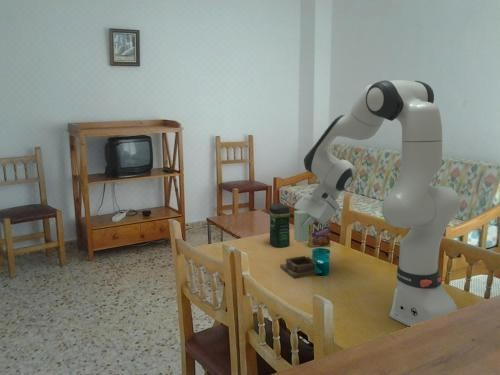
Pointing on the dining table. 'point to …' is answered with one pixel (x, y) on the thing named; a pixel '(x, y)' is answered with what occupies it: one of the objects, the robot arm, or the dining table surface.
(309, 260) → the walnut cradle
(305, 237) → the sage block
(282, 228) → the coffee jar
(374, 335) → the dining table surface
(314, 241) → the candy box
